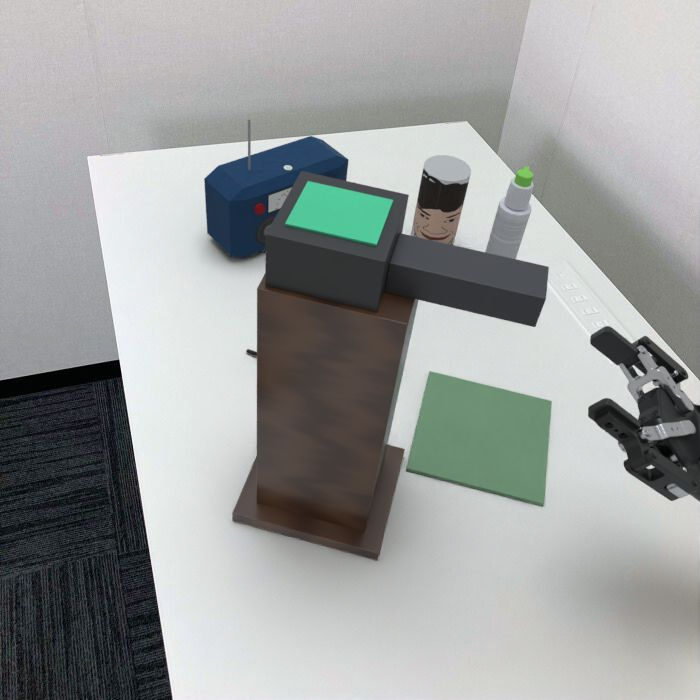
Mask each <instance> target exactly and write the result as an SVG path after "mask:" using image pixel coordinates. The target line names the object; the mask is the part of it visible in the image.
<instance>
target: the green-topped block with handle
mask: <svg viewBox="0 0 700 700" xmlns="http://www.w3.org/2000/svg"><path fill="white" fill-rule="evenodd" d="M409 197H410V196H409V194H406V193H403V192H402V193H401V192H399V191H394V190H389V189H385V188H380V187H375V186H371V185H367V184H362V183H358V182H353V181H348V180H346V181H344V180H339V179H335V178H330V177H326V176H321V175H317V174H312V173H308V172H303V171H301V173H300V174H299V176H298V178H297V180H296V181H295V183H294V185H293V187H292V189H291V190H290V192H289V194H288V196H287V198H286V199H285V201H284V203H283V205H282V207H281V208H280V210H279V212H278V214H277V215H276V217H275V219H274V221H273V223H272V224H271V226H270V228H269V230H268V232H267V233H266V250H265V271H264V272H265V273H264V274H265V285H266V286H269V287H273V288H277V289H282V290H286V291H290V292H294V293H298V294H303V295H307V296H311V297H315V298H319V299H324V300H328V301H332V302H336V303H340V304H344V305H349V306H353V307H357V308H361V309H365V310H370V311H374V312H378V309H379V306H380V303H381V300H382V297H383V294H384V291H385V292H387V293H392V294H396V295H400V296H404V297H409V298H413V299H417V300H419V301H421V302H422V301H423V302H426V303H430V304H434V305H439V306H442V307H448V308H452V309H456V310H460V311H463V312H469V313H473V314H478V315H482V316H485V317H490V318H493V319H498V320H502V321H506V322H507V321H508V322H511V323H515V324H520V325H524V326H528V327H533V328H536V326H537V323H538V321H539V318H540V316H541V313H542V311H543V308H544V306H545V302H546V300H547V293H548V292H547V291H548V280H549V270H550V269H549V268H550V267H549V266H548V265H542V264H538V263H534V262H529V261H525V260H521V259H517V258H516V259H512V258H508V257H503V256H499V255H495V254H490V253H486V252H485V251H481V250H477V249H471V248H468V247H463V246H458V245H455V244H454V245H450V244H446V243H442V242H437V241H433V240H428V239H424V238H420V237H415V236H411V234H406V233H403V230H404V224H405V219H406V214H407V207H408V202H409Z"/></svg>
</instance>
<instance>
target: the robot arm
mask: <svg viewBox="0 0 700 700" xmlns="http://www.w3.org/2000/svg"><path fill="white" fill-rule="evenodd" d="M589 344H590V346H592V347H593V348H594V349H595V350H597V351H598V352H599V353H601V354H602V355H603V356H604V357H606V358H607V359H608V360H610V361H611V362H612V363H613V364H615V365H616V366H618V367H619V368H620V370H621V371H622V373H623V374H624V376H625V377H626V379H627V380H628V383H627V385H626V387H627V390H628V392H629V393H630V395H631V396H632V398H633V399H634V400H635V403H636V404H637V409H638V412H639V413H638V418H636V417H635V416H634V415H632V413H630V412H628V410H626V409H625V408H624V407H622V406H621V405H619V403H617V402H616V401H614V399H611V398H610V397H609V398H608V397H605V398H602V399H600V400H598V401H596V402H594V403H593V404H591V405H589V406H588V409H587V416H588V418H589V419H590V420H591V421H593V422H594V423H595V424H596V425H597V426H598V427H599V428H600V429H602V430H603V431H604V432H605V433H606V434H608V435H610V436H611V437H612V438H613V439H615V440H616V441H617V444H618V447H619V449H620V450H621V451H622V452H623V453H626V456H627V459H624V460H623V467H624V470H625V471H626V472H627V474H629V475H631V476H632V477H634V478H635V479H637V480H638V481H640V482H642V483H643V484H645V485H646V486H648V487H649V488H651V489H652V490H653V491H654V492H657V494H659V495H661V496H662V497H664V498H666V499H667V500H668V501H670V502H674V501H677V500H678V499H682V498H684V497H687V496H689V495H690V496H691V497H692V498H694V499H695V500H697V502H699V503H700V404H695V403H694V402H693V401H692V400H691V399H690V398H689V396H688V395H687V393H686V392H685V391H684V390H682V388H681V383H682V382H684V381H686V380H687V379H689V373H688V371H687V370H686V369H685V368H684V367H683V366H682V365H681V364H680V363H678V362H677V361H676V360H675V359H674V358H673V357H671V355H669V354H668V353H667V352H666V351H664V349H662V347H660V346H659V345H658V344H657V343H655V342H654V340H652V339H651V338H650V337H649V336H647V335H643V336H642V337H640V338H638V339H637V340H635V341H633V342H630V340H628V339H627V338H626V337H624V335H622V334H621V333H619V331H617V330H616V329H614V328H613V327H612V326H610V325H606V326H603V327H601V328H600V329H598V330H597V331H595V332H594V333H592V334H591V335H590V337H589ZM634 367H635V368H636V369H638V370H639V371H640V372H641V373H642V374H643V375H639V374H638V372H637V371H636V369H635V368H634ZM651 382H652V385H653V386H654V388H652V389H650V390H648V391H646V392H645V391H644V390H643V388H644V386H645V385H647V384H648V383H651ZM650 466H652V468H648V467H650Z"/></svg>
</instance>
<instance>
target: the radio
mask: <svg viewBox="0 0 700 700" xmlns="http://www.w3.org/2000/svg"><path fill="white" fill-rule="evenodd" d="M251 138H252V137H251V118H248V119H247V156H244V157H241V158H237V159H235V160H231V161H228V162H225V163H223V164H219V165H217V166H216V167H215V168H214V169H213V170H212V171H211V172H210V173H209V174H207V175H206V176H205V177H204V179H203V182H204V199H205V213H206V214H205V219H206V233H207V234H208V236H209V237H211V239H212V240H214V241H215V243H216V244H217V245H218V246H219V247H220V248H222V249H223V250H224V251H225V253H227V255H228V256H229V257H232V258H239V259H246V258H249V257H251V256H253V255H256V254H258V253H261V252H264V251H266V233H267V232H268V230H269V228H270V226H271V224H272V223H273V221H274V219H275V217H276V215H277V214H278V212H279V210H280V208H281V207H282V205H283V203H284V201H285V199H286V198H287V196H288V194H289V192H290V190H291V189H292V187H293V185H294V183H295V181H296V180H297V178H298V176H299V174H300V173H301V171H303V172H308V173H312V174H317V175H321V176H326V177H330V178H335V179H339V180H344V181H347V177H348V168H349V159H348V158H347V157H346V156H345V155H343V154H342V153H341V152H340V151H338V150H337V149H336V148H334V147H333V146H331V145H330V144H329V143H327V142H326V141H324V139H322V138H319V137H315V136H313V135H309V136H306V137H303V138H300V139H298V140H294V141H291V142H287V143H284V144H282V145H281V144H280V145H278V146H275V147H272V148H269V149H266V150H263V151H260V152H257V153H253V154H252V151H251V147H252V146H251V141H252V139H251Z"/></svg>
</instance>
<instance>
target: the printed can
mask: <svg viewBox="0 0 700 700" xmlns="http://www.w3.org/2000/svg"><path fill="white" fill-rule="evenodd" d="M422 167H423V168H422V173H421V178H420V184H419V188H418V189H419V190H418V194H417V200H416V205H415V210H414V216H413V221H412V227H411V231H410V235H411V236H415V237H420V238H424V239H428V240H433V241H437V242H442V243H446V244H450V245H455V240H456V237H457V232H458V227H459V225H460V224H459V223H460V219H461V216H462V211H463V207H464V203H465V199H466V195H467V190H468V187H469V182H470V178H471V175H472V169H471V167H470V165H469V164H468V163H467V162H466V161H465V160H463V159H461V158H459V157H456V156H453V155H447V154H437V155H433V156H430V157H428V158H426V160H425V161H424V162H423V166H422Z"/></svg>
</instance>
